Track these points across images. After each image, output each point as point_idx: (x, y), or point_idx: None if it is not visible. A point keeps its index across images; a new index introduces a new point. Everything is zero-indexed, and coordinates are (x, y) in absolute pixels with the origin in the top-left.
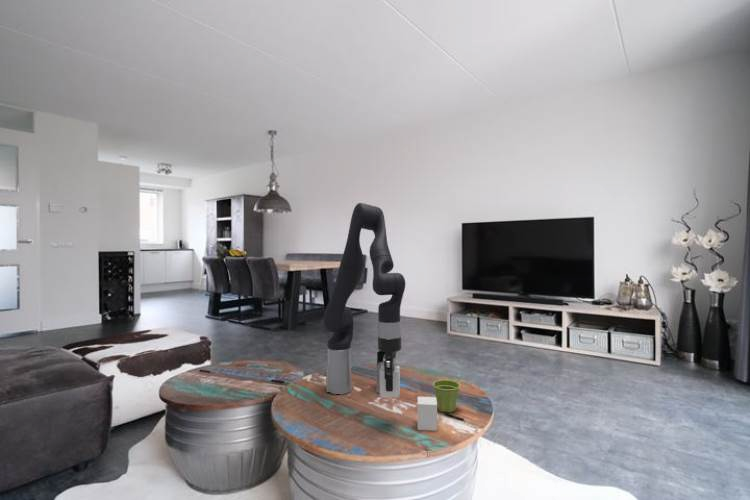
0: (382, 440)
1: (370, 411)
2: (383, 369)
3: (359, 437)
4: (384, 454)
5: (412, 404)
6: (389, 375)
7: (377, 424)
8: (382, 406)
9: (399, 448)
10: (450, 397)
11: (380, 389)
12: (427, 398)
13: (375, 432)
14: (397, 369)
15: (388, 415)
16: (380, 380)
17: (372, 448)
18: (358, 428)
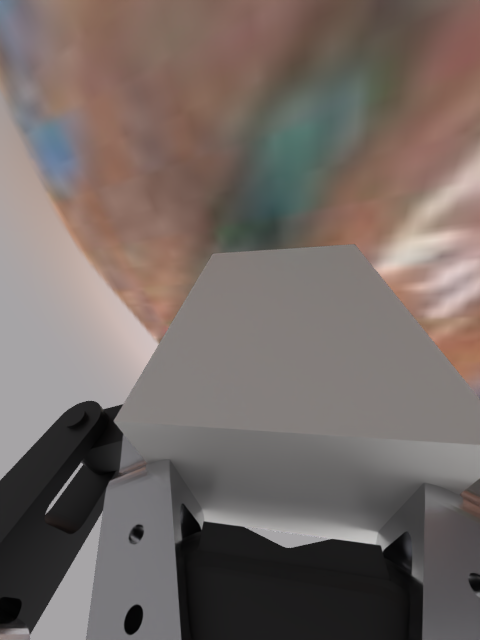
0: (156, 233)
1: (421, 106)
2: (236, 456)
3: (137, 128)
4: (90, 252)
5: (453, 306)
6: (91, 467)
7: (266, 188)
8: (477, 172)
9: (138, 286)
10: None
11: (201, 281)
12: None
13: (199, 195)
14: (263, 525)
15: (356, 223)
16: (172, 330)
17: (96, 208)
18: (210, 91)
